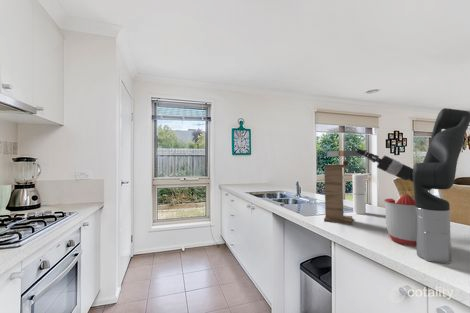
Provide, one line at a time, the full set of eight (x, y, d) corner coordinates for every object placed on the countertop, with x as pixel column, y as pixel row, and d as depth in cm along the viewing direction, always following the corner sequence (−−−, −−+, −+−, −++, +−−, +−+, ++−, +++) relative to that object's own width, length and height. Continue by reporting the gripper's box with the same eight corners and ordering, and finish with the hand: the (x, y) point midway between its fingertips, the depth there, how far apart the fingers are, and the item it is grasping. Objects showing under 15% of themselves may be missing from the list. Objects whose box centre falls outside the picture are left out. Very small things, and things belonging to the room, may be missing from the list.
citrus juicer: (418, 236, 102) (417, 191, 103) (441, 250, 86) (439, 197, 86) (379, 233, 107) (378, 190, 107) (393, 246, 90) (391, 196, 91)
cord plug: (327, 156, 133) (327, 151, 133) (328, 156, 137) (328, 151, 137) (366, 155, 123) (366, 149, 123) (366, 155, 128) (366, 150, 128)
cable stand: (351, 224, 123) (350, 161, 123) (324, 221, 129) (322, 161, 130) (352, 218, 134) (350, 161, 135) (326, 216, 141) (325, 161, 141)
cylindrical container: (353, 213, 147) (352, 174, 148) (353, 211, 153) (352, 174, 154) (366, 214, 144) (365, 175, 144) (365, 212, 150) (364, 174, 151)
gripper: (391, 159, 126) (360, 145, 133) (395, 159, 113) (361, 143, 121) (384, 171, 127) (353, 156, 135) (387, 172, 115) (353, 156, 122)
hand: (357, 150), depth 128 cm, fingers closed on cord plug, 3 cm apart
